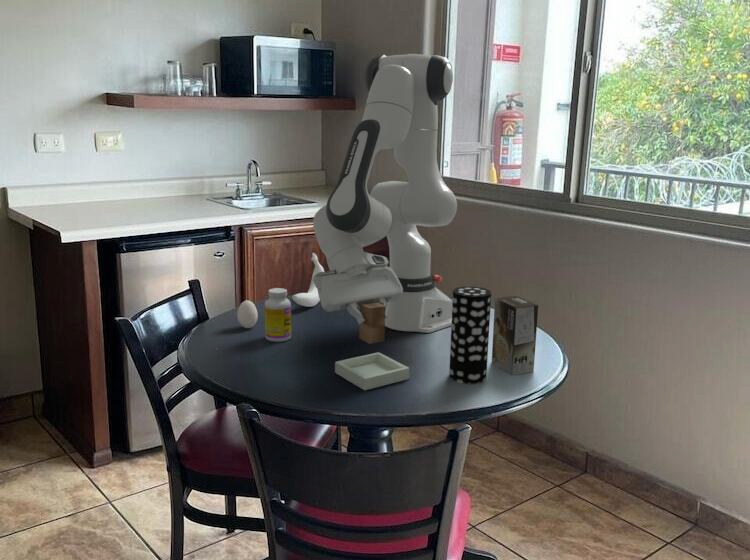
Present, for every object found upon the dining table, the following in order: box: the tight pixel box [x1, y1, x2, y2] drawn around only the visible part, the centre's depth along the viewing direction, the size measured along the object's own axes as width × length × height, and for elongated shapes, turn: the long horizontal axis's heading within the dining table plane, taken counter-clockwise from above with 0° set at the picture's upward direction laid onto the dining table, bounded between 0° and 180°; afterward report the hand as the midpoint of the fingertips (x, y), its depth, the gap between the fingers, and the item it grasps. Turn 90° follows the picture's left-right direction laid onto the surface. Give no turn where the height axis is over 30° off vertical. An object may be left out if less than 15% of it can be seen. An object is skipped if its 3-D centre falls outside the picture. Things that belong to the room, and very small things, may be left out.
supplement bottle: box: [264, 287, 292, 343], centre depth 184 cm, size 7×7×13 cm
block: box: [358, 302, 387, 345], centre depth 158 cm, size 4×4×8 cm
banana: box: [291, 252, 325, 308], centre depth 213 cm, size 5×19×15 cm, turn 166°
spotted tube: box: [448, 286, 492, 385], centre depth 160 cm, size 8×8×20 cm
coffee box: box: [491, 295, 539, 376], centre depth 166 cm, size 9×6×16 cm
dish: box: [334, 351, 411, 391], centre depth 161 cm, size 12×12×3 cm
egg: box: [236, 299, 259, 329], centre depth 192 cm, size 5×5×8 cm
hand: (373, 320), depth 158 cm, fingers closed on block, 4 cm apart
